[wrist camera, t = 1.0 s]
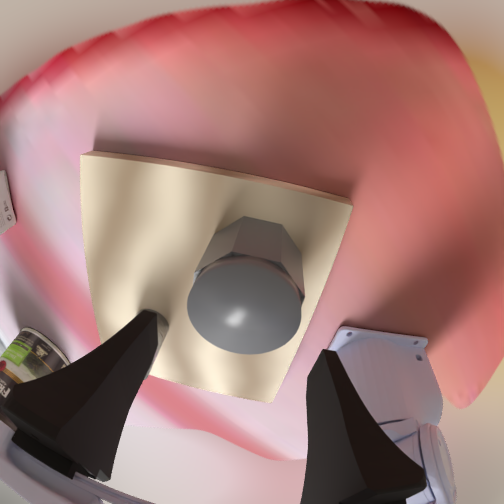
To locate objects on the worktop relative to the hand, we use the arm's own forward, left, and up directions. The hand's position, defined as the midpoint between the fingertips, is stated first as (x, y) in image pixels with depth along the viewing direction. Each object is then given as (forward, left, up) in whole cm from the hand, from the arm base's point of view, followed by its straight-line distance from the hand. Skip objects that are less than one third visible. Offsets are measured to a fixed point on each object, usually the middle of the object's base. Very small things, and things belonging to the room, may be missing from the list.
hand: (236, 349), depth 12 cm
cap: (0, 0, -8) cm, 8 cm away
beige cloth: (+4, +6, -9) cm, 11 cm away
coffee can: (+26, +24, -10) cm, 37 cm away
